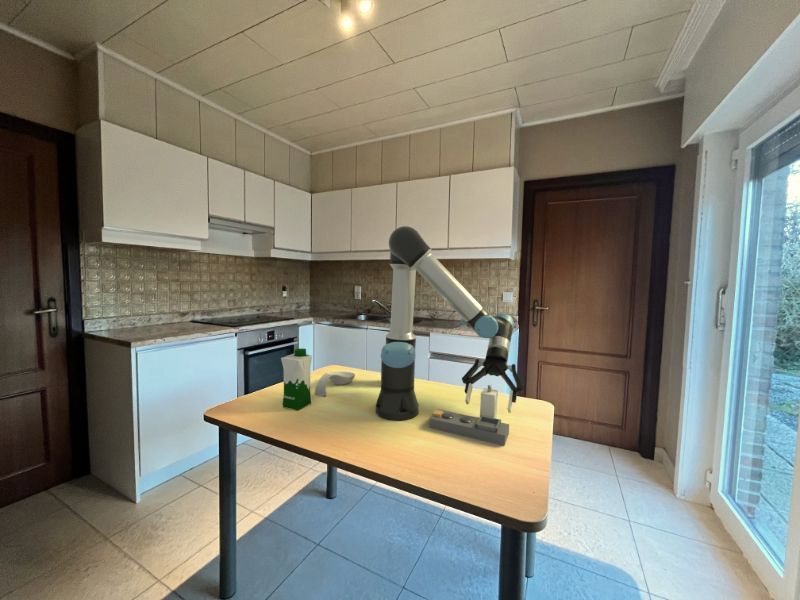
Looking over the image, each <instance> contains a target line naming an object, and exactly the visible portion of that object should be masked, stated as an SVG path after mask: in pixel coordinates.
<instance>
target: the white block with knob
mask: <svg viewBox="0 0 800 600" xmlns="http://www.w3.org/2000/svg"><path fill="white" fill-rule="evenodd" d="M498 395H499V393H498V390H497V389H492V385H489V384H488V385H487V388H485V387H484V388H483V389H482V391H481V392H480V406H479V407H480V409H479V417H480V416H481V415H482V416H486V417H491V418H496V419H497V412H498Z"/></svg>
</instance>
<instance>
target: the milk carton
mask: <svg viewBox="0 0 800 600" xmlns="http://www.w3.org/2000/svg"><path fill="white" fill-rule="evenodd" d="M312 358H313V355H311V354H307V349H306V348H295V349H294V353H291V354H289V355H288V354H287V355H286V356H284V357H280V360H281V364H282V368H283V397H282V398H283V399H282V408H285V409H290V410H294V411H300V410H302V409H303V408H305V407H307V406H309V405H311V404H312V399H311V397H312V396H311V395H312V394H311V365H312Z"/></svg>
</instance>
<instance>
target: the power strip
mask: <svg viewBox="0 0 800 600" xmlns="http://www.w3.org/2000/svg"><path fill="white" fill-rule="evenodd" d="M429 428H430V429H434V430H439V431H443V432H447V433H451V434H455V435H459V436H463V437H467V438H473V439H476V440H479V441H483V442H488V443H492V444H496V445H500V446H505V445H506V443H507V439H508V437H509V434H510V423H505V422H502V419H501V418H500V419H499V418H497V417H496V418H491V417H486V416H482V415H481V416H480V415H479V417H476V416H472V415H466V414H463V413H458V412H453V411H449V410H443V409H436V410H435V411H434V412H433V413H432V415H431V417H429Z"/></svg>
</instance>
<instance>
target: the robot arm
mask: <svg viewBox="0 0 800 600" xmlns="http://www.w3.org/2000/svg"><path fill="white" fill-rule="evenodd" d="M388 247H389V250H390V253H389V266H391V268H392V270H393V271H392V272H393V274H392V287H391V288H392V291H391V292H392V293H391V310H390V311H391V312H390V329H389V330H390V331H389V332H388V333H387V334H386V335H385V344H384V345H383V346H382V348H381V352H380V359H381V365H380V368H381V369H380V390H379V393H378V397H377V400H376V402H375V410H374V411H375V414H376V415H377V416H379V417H380V418H382V419H385V420H390V421H406V420H410V419H412V418H415V417H416V416H418V415H419V410H420V409H419V408H420V407H419V402H418V399H417V395H416V392H415V373H416V372H415V367H416V366H415V364H416V362H415V361H416V343H417V342H416V339H417V336H416V335H415V334H414V332H413V328H414V327H413V326H414V310H415V308H414V307H415V295H416V294H415V293H416V277H417V275H416V273H417V272H418V274H419V275H420V276H422V278H423V279H424V280H425V281H426V282H427V283H428V284H429V285H430V286H431V287H432V288H433V289H434V290H435V291H436V292H437V293H438V294H439V295H440V296H441V298H442V299H444V301H445V302H446V303H447V304H448V305H449V306H450V307H451V308H452V309H453V310H454V312H456V313H457V314H458V315H459V316H460V317H461V318H460V319H461V320H460V323H461V324H462V325H464V326H465V327H467V328H470V329H472V330H473V331H474V332H475V333H476V335H477V336H478V337H479V338H480V337H481V338H483V339H488V345H487V350H486V355H485V359H484V361H481V360H480V359H478V358H477V359H475V360H474V364H473V365H472V366H471V367H470V368H469V369H468V371H467V372H466V373H465V374H464V375H463V376H462V377H461V380H462V384H464V385H465V387H464V393H465V394H466V396H465V400H464V401H465V404H466V405H469V404H470V401H471V400H470V399H471V396H472V392H473V385H474V384H475V383H476V382H478V381H479V380H481V379H482V378H483V377H485V376H487V375H489V376H494V377H500V376H501V378H502V379H503V380H504V381H505V383H506V384H507V386H508V387H509V389H510V391H509V396H508V397H509V399H508V405H507V412H508V413H512V406H513V403H514V404H515V403H516V401H517V397H518V394H524V387H523V385H522V381H521V380H520V377H519V375H518V373H517V367H516V364H515V363H512V364H509V365H508V360H509V353H510V347H511V341H512V336H513V332H514V319H513V318H512V316H510V315H509V314H507V313H506V314H505V313H498V314H495V316H494V315H491V314H490V313H489V312H488V311H487V310H486V309H485V308H484V307H483V306H482V305H481V304H480V303H479V301H477V300H476V299H475V297H474V296H473V295H472V294H471V293H470V292H469V291H468V290H467V289H466V288H465V287H464V286H463V285H462V284H461V283H460V282H459V280H457V278H455V276H454V275H453V274H452V273H451V272H449V270H448V269H447V268H446V267H445V266H444V265H443V264H442V263H441V262H440V260H438V259H437V257H436V256H434V255H433V254H432V248H431V247H430V246H429V245H428V244H427V242H426V241H425V240H424V239H423V237H422V236H421V234H420V233H419V232H418V231H417V230H416V229H415V228H413V227H412V226H411V227H410V226H406V225H404V226H403V225H402V226H399V227H398V228H395V229H394V230H393V231H392V233H391V234H390V236H389V238H388ZM482 366H483V367H482ZM481 367H482V368H481ZM479 368H481V369H480V370H479ZM478 370H479V371H478ZM507 370H509V372H510V373H511V374H512V376H513V380H514V382H515V384H516V386H515V384H514V383H513V381H512V379H510V377H509V376H508V374H507V373H506V372H507Z"/></svg>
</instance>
